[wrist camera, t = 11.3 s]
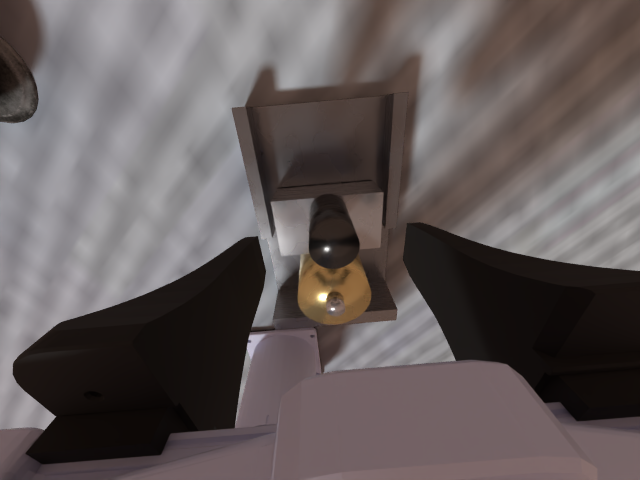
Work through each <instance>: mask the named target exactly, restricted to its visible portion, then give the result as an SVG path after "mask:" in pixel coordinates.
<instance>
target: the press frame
mask: <svg viewBox="0 0 640 480" xmlns="http://www.w3.org/2000/svg"><path fill="white" fill-rule="evenodd" d="M407 103H408V92H404V93H394V94H390V95H386V96H375V97H364V98H353V99H341V100H330V101H319V102H308V103H297V104H285V105H274V106H263V107H237V108H232V112H233V117H234V121H235V126H236V130H237V134H238V139H239V143H240V147H241V152H242V156H243V161H244V165H245V169H246V174H247V178H248V182H249V187H250V191H251V196H252V200H253V204H254V209H255V213H256V217H257V222H258V226H259V231H260V235H261V239H262V240H263V239H267V240H268V245H269V249H270V254H271V259H272V263H273V268H274V273H275V277H276V282H277V287H278V295H277V300H276V305H275V311H274V316H273V322H274V326H275V330H280V329H293V328H305V327H317V326H329V325H341V324H323V323H319V322H316V321H314V320H312V319H310V318H308V317H307V316H306V315H305V314H304V313H303V312H302V310H301V309H300V307H299V304H298V286H299V272H300V258H301V254H300V255H288V256H281V253H280V248H279V243H278V237H277V232H276V227H275V222H274V216H273V211H272V206H271V200H272V198H273V196H274V194H275V192H276V189H283V188H294V187H306V186H317V185H329V184H340V183H352V182H364V181H374V182H375V184H376V185H377V186H378V187H379V188H380V189H381V190H382V191H383V192H384V193H383V211H382V228H381V246H380V248H371V249H359V253H358V254H359V257H360V259H361V262H362V265H363V268H364V271H365V274H366V277H367V280H368V283H369V286H370V289H371V301H370V304H369V306H368V307H367V309H366V310H365V311H364V312H363V313H362V314H361V315H360V316H359V317H357V318H355V319H354V320H351V321H349V322H346V323H342V324H353V323H366V322H378V321H390V320H396V317H397V307H396V305H395V303H394V301H393V298H392V296H391V294H390V292H389V289H388V287H387V285H386V283H385V275H386V261H387V248H388V234H389V229H392V228H396V224H397V213H398V202H399V191H400V180H401V169H402V158H403V147H404V136H405V125H406V114H407Z"/></svg>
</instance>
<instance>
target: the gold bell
mask: <svg viewBox="0 0 640 480" xmlns="http://www.w3.org/2000/svg"><path fill="white" fill-rule="evenodd" d="M370 301H371V289H370V286H369V283H368V280H367V277H366V274H365V271H364V268H363V265H362V262H361V259H360V257H359V254H358V255H357V257H356V258H355V259H354V260H353V262H351V263H350V264H348V265H347V266H345V267H342V268H338V269H328V268H324V267H322V266H320V265H318V264H317V263H315V262H314V261H313V259H312V258H311V256H310V254H301V258H300V272H299V286H298V304H299V307H300V309H301V310H302V312H303V313H304V314H305V315H306V316H307V317H308V318H310V319H312V320H314V321H316V322H319V323H323V324H342V323H346V322H349V321H351V320H354V319H355V318H357V317H359V316H360V315H361V314H362V313H363V312H364V311H365V310H366V309H367V307H368V306H369V304H370Z"/></svg>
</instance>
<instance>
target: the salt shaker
mask: <svg viewBox="0 0 640 480" xmlns="http://www.w3.org/2000/svg"><path fill="white" fill-rule="evenodd" d="M37 103H38V95H37V88H36V85H35V83H34V80H33V77H32V75H31V73H30V71H29V70H28V68H27V66H26V65H25V63H24V61H23V60H22V59H21V57H20V56H19V55H18V54H17V53H16V52H15V50H14V49H13V48H12V47H11V46H10V45H9V44H8V43H7V42H6V41H5V40H3V39H2V38H1V37H0V122H7V123H18V122H24V121H26V120H27V119H29V118H31V117H32V116H33V114H34V113H35V111H36V109H37Z"/></svg>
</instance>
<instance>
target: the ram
mask: <svg viewBox="0 0 640 480" xmlns="http://www.w3.org/2000/svg"><path fill="white" fill-rule="evenodd" d="M383 193H384V192H383V191H382V190H381V189H380V188H379V187H378V186H377V185H376V184H375V182H374V181H364V182H352V183H340V184H329V185H317V186H306V187H294V188H283V189H276V192H275V194H274V196H273V198H272V200H271V206H272V211H273V216H274V222H275V227H276V232H277V237H278V243H279V248H280V253H281V256H288V255H300V254H310V256H311V258H312V259H313V261H314V262H315V263H317V264H318V265H320V266H322V267H324V268H328V269H338V268H342V267H345V266H347V265H348V264H350V263H351V262H353V260H354V259H355V258H356V257H357V255H358V253H359V249H371V248H380V246H381V228H382V211H383Z"/></svg>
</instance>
